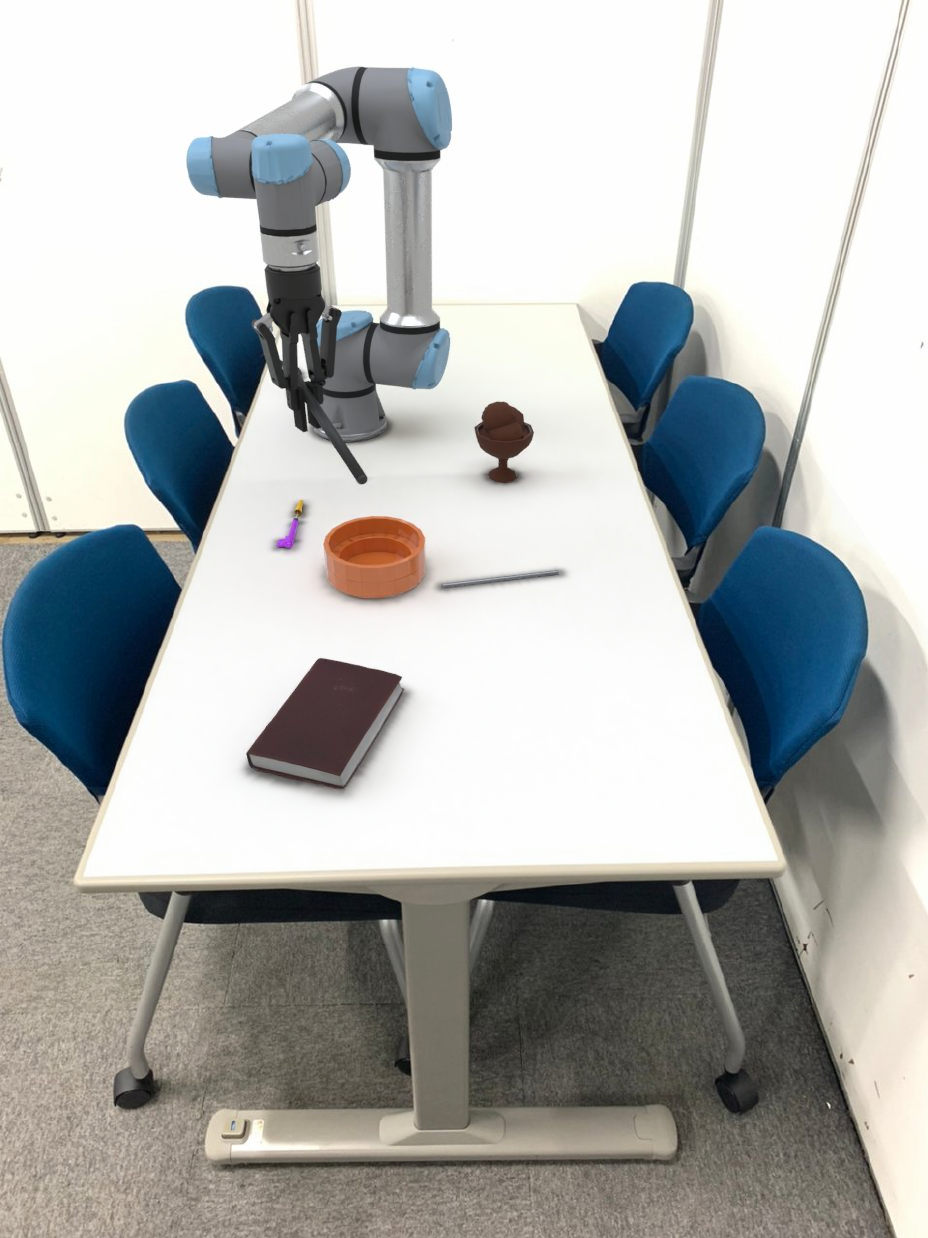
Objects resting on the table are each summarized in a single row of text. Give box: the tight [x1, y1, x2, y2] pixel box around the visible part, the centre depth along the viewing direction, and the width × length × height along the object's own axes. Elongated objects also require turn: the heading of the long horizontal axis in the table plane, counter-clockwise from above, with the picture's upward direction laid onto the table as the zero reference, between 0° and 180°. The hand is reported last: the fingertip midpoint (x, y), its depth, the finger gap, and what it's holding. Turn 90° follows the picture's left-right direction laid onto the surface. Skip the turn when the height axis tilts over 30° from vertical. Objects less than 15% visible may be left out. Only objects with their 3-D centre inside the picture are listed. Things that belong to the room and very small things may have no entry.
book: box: [245, 657, 405, 790], centre depth 112 cm, size 12×19×3 cm, turn 161°
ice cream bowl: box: [473, 400, 535, 484], centre depth 165 cm, size 11×11×15 cm
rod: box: [441, 569, 560, 589], centre depth 140 cm, size 1×19×1 cm, turn 103°
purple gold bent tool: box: [276, 499, 304, 549], centre depth 154 cm, size 3×1×16 cm
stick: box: [298, 374, 368, 486], centre depth 129 cm, size 20×2×10 cm, turn 35°
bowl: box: [323, 515, 427, 599], centre depth 140 cm, size 16×16×6 cm
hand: (308, 426), depth 135 cm, fingers closed on stick, 1 cm apart
